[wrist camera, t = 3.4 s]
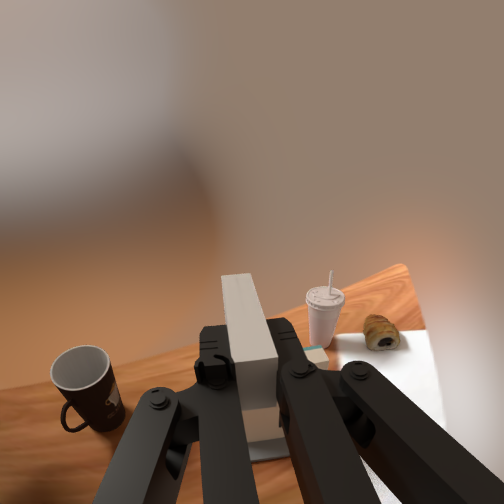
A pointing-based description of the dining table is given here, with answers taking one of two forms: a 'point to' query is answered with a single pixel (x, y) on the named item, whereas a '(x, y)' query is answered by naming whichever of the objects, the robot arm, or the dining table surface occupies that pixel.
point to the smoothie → (323, 312)
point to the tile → (267, 419)
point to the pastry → (380, 333)
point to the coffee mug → (88, 388)
